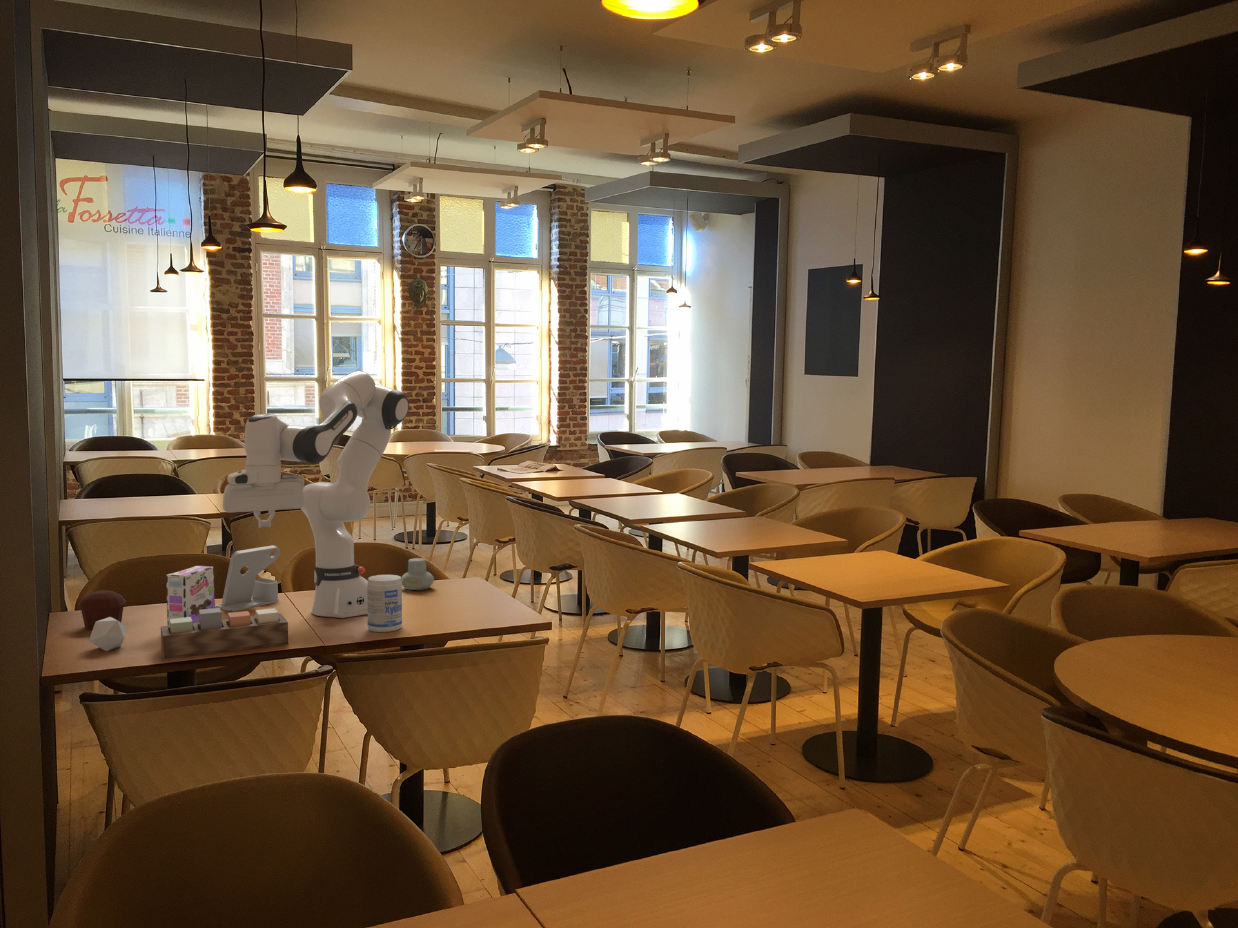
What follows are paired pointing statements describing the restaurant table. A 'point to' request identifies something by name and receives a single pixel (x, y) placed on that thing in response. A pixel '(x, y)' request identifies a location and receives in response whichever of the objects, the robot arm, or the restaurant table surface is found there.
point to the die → (108, 633)
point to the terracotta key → (239, 618)
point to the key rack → (223, 638)
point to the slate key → (210, 618)
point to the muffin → (101, 607)
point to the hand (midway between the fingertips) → (264, 527)
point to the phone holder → (249, 580)
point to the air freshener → (417, 575)
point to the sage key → (181, 625)
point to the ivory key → (266, 615)
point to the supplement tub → (384, 603)
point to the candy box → (190, 592)
